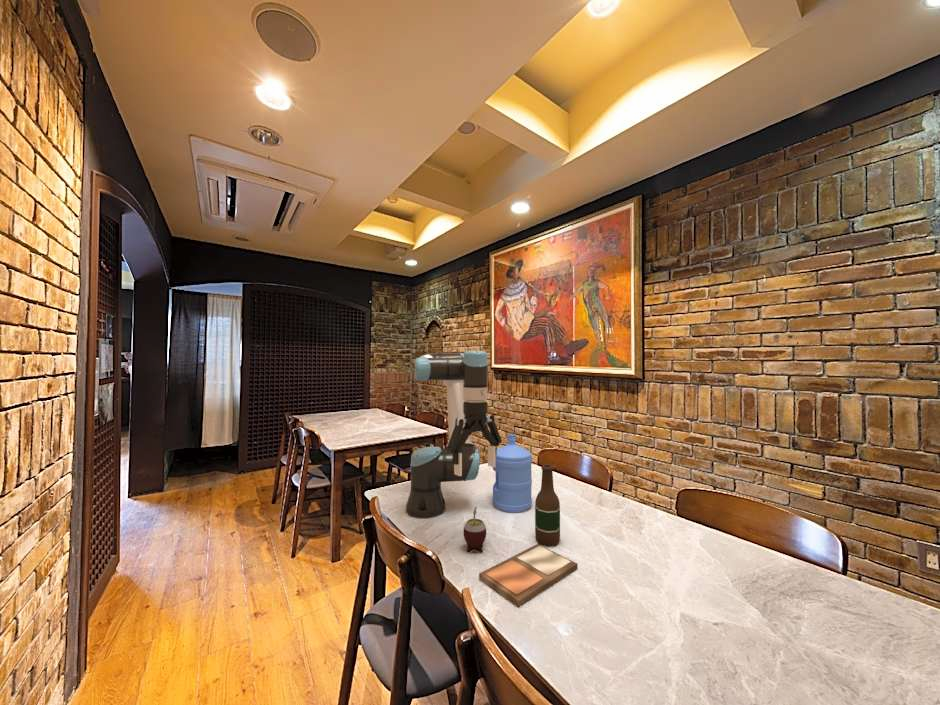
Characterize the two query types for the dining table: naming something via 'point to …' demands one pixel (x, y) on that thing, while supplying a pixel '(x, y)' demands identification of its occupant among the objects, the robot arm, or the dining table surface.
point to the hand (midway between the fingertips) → (475, 470)
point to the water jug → (512, 477)
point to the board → (527, 574)
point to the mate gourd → (474, 533)
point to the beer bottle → (547, 511)
